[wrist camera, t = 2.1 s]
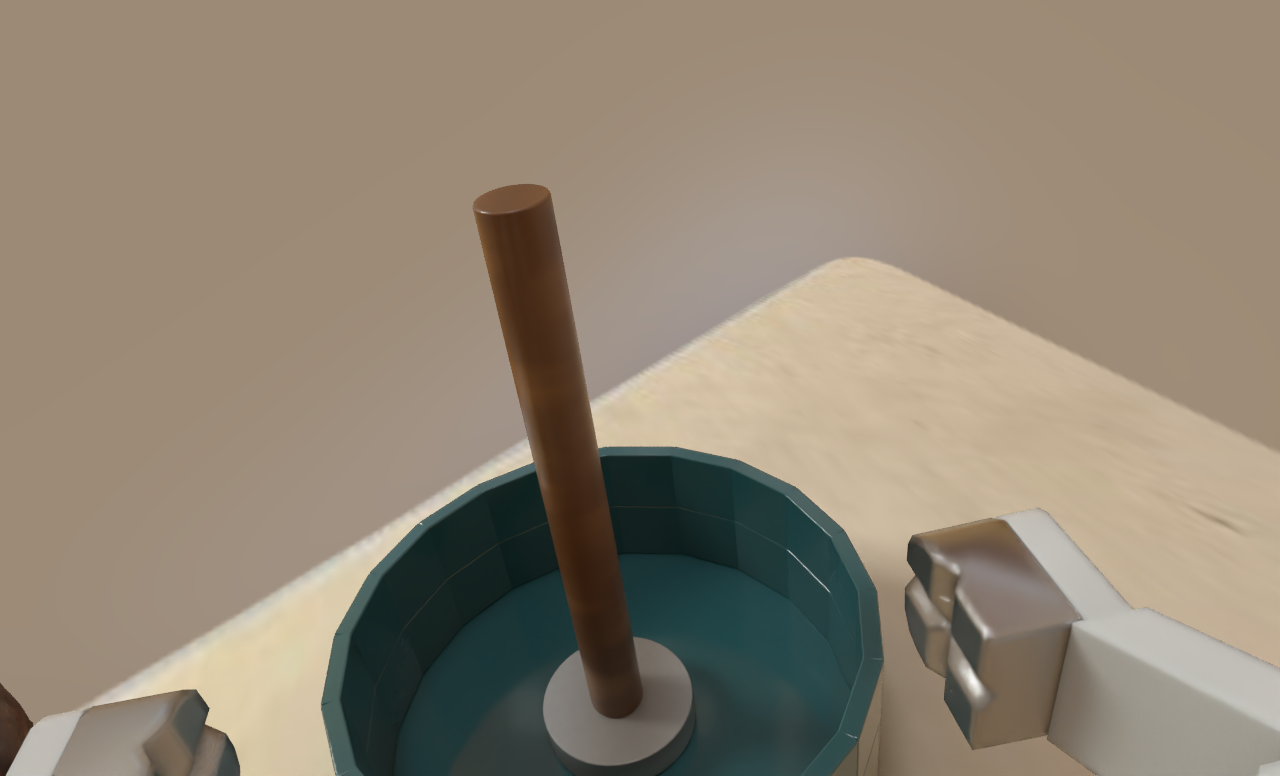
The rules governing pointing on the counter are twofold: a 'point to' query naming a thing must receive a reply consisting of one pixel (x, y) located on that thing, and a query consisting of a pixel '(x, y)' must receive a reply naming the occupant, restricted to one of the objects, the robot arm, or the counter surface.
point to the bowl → (658, 610)
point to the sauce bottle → (11, 729)
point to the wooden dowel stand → (578, 511)
